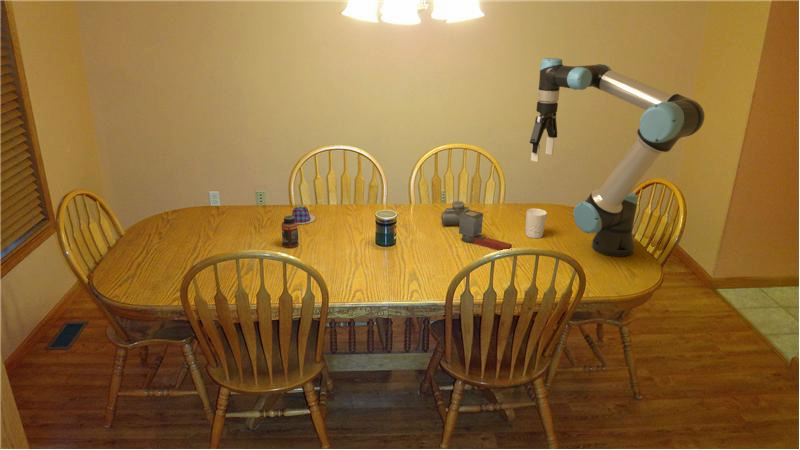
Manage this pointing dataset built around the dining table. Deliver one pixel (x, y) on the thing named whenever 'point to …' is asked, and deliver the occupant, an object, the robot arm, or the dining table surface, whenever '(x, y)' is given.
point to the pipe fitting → (453, 213)
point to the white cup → (535, 222)
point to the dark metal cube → (470, 223)
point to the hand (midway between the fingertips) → (541, 157)
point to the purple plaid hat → (302, 215)
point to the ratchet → (486, 242)
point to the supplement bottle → (290, 232)
